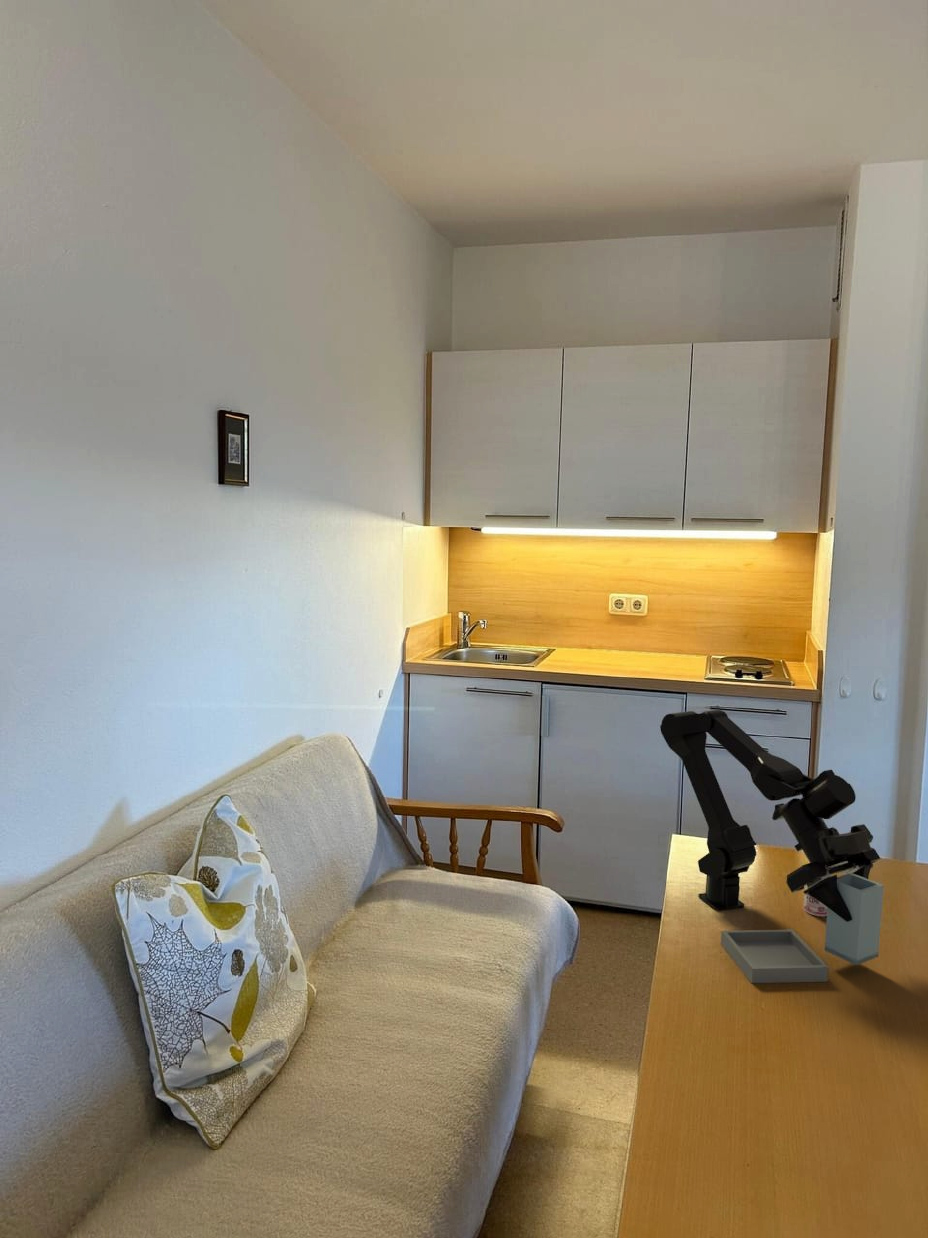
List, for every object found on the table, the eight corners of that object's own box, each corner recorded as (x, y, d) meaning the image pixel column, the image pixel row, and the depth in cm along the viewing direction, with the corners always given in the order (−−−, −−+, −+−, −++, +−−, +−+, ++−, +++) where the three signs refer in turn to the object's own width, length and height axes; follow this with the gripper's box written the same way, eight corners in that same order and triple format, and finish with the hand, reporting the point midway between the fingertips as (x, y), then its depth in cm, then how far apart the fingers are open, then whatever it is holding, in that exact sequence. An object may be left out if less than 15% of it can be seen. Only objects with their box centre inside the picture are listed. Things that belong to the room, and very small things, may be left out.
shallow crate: (720, 944, 159) (721, 930, 159) (790, 943, 160) (792, 929, 160) (751, 983, 146) (752, 968, 146) (827, 981, 148) (829, 967, 147)
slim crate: (824, 950, 153) (829, 879, 152) (846, 942, 156) (851, 872, 155) (856, 965, 148) (861, 892, 147) (878, 956, 151) (883, 885, 150)
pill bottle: (801, 913, 172) (805, 871, 171) (805, 904, 177) (808, 863, 176) (828, 919, 170) (832, 877, 169) (831, 910, 174) (835, 868, 173)
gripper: (807, 818, 148) (861, 909, 140) (875, 802, 158) (929, 886, 150) (764, 848, 155) (813, 936, 147) (831, 830, 165) (881, 912, 157)
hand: (861, 916), depth 150 cm, fingers closed on slim crate, 6 cm apart
